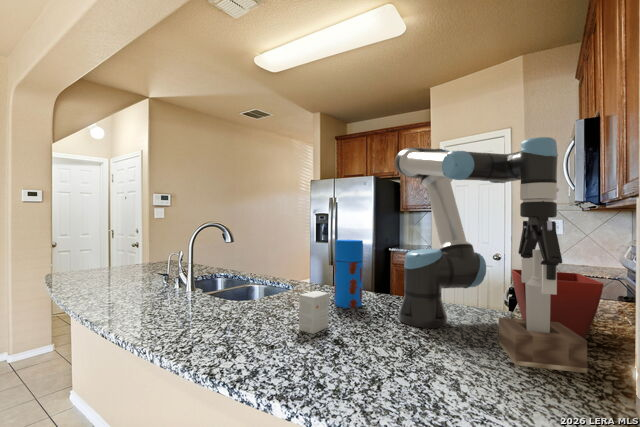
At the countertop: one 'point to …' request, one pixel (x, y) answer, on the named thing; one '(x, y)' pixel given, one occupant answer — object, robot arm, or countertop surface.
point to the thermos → (348, 273)
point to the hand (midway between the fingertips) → (537, 287)
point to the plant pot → (567, 300)
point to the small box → (313, 311)
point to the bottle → (537, 299)
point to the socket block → (543, 346)
